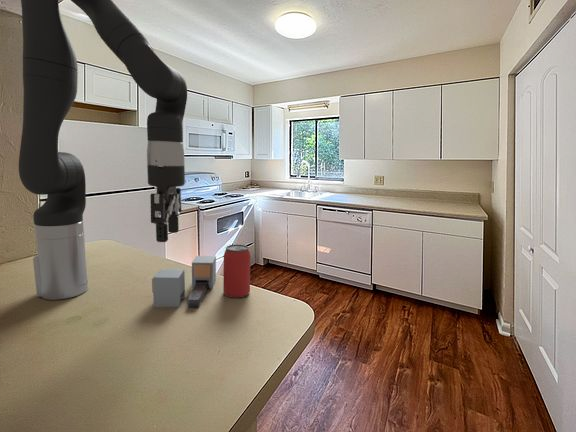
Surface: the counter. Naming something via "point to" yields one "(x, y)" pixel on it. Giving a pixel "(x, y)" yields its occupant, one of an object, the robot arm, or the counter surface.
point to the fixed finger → (204, 270)
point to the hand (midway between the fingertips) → (168, 236)
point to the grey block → (168, 287)
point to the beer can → (236, 271)
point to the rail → (198, 293)
